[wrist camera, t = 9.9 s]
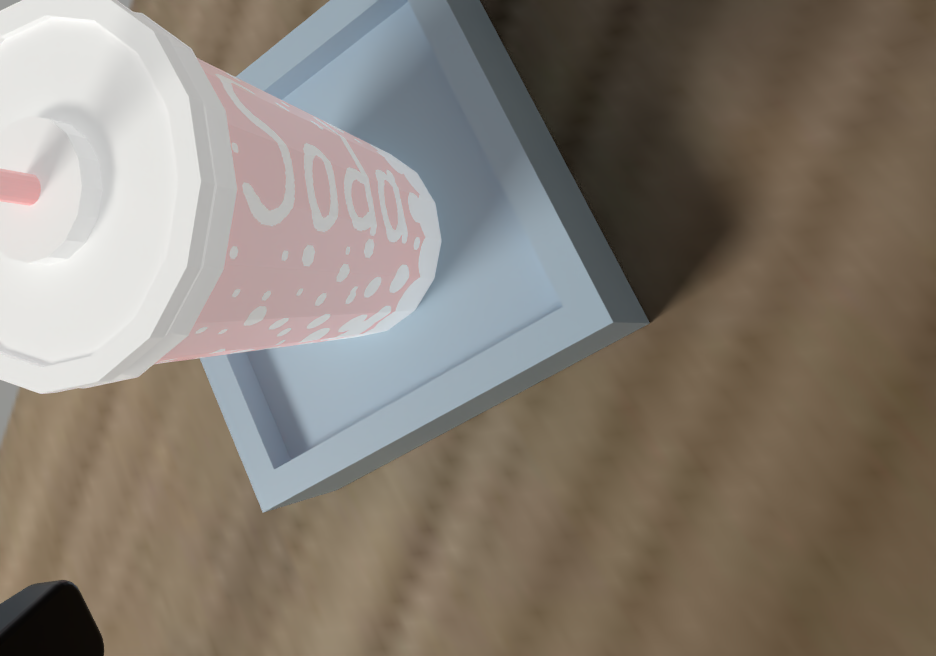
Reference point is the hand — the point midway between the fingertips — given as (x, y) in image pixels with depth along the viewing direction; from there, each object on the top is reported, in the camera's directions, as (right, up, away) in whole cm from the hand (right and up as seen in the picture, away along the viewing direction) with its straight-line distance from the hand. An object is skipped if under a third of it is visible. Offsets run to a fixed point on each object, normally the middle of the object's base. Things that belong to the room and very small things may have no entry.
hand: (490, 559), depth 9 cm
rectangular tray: (-2, +4, +15) cm, 16 cm away
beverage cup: (-3, +4, +13) cm, 14 cm away
